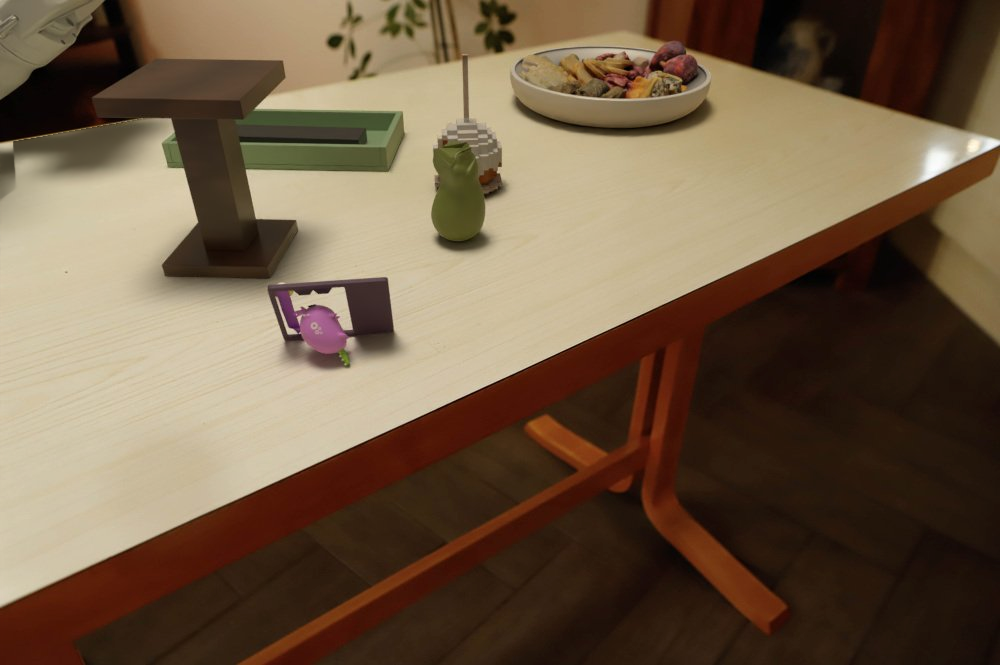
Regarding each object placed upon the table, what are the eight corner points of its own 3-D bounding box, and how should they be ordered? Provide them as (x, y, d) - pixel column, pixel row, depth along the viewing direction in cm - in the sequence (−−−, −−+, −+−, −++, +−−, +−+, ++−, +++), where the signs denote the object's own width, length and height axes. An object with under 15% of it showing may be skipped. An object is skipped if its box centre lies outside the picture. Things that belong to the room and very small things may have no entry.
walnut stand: (149, 281, 67) (90, 97, 57) (198, 223, 77) (155, 58, 67) (277, 284, 67) (239, 100, 57) (310, 225, 77) (283, 60, 67)
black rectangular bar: (207, 148, 93) (204, 135, 92) (220, 136, 97) (217, 123, 96) (359, 153, 92) (358, 139, 91) (367, 140, 96) (366, 127, 95)
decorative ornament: (434, 174, 88) (427, 46, 79) (497, 172, 89) (498, 44, 80) (435, 201, 82) (428, 65, 73) (503, 199, 82) (504, 63, 74)
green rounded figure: (494, 242, 74) (494, 147, 68) (449, 255, 71) (445, 158, 66) (466, 221, 78) (464, 130, 72) (423, 233, 75) (417, 140, 70)
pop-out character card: (387, 269, 56) (267, 277, 55) (390, 323, 53) (263, 333, 52) (393, 321, 61) (284, 329, 60) (396, 372, 58) (282, 382, 57)
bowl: (583, 150, 95) (588, 90, 90) (475, 91, 116) (474, 39, 112) (748, 114, 107) (759, 59, 103) (623, 66, 128) (628, 19, 124)
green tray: (167, 167, 90) (161, 143, 88) (208, 129, 101) (203, 107, 99) (388, 171, 89) (385, 147, 87) (404, 133, 100) (402, 111, 98)
